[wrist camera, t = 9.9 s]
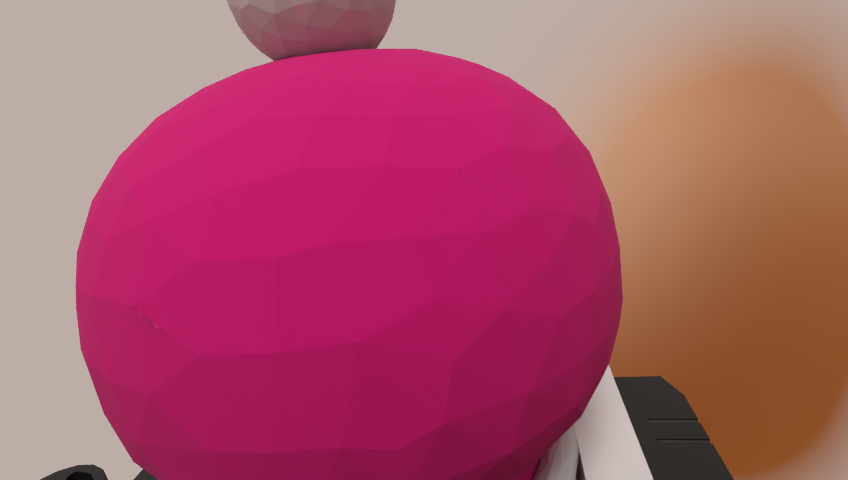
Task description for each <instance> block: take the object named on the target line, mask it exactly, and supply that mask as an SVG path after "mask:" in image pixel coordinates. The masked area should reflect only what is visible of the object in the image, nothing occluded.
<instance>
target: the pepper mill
mask: <svg viewBox="0 0 848 480" xmlns="http://www.w3.org/2000/svg"><path fill="white" fill-rule="evenodd" d="M395 1H396V0H227V2H228V5H229V7H230V9H231V11H232V13H233V15H234V17H235V19H236V21H237V23H238V26H239V27H240V28H241V30H242V31H243V33H244V34H245V35H246V37H247V38H248V39H249V41H250V42H251V43H252V44H253V45H255V46H256V47H257V48H258V49H259V50H260V51H261V52H262V53H264V54H265V55H266V56H268V57H269V58H271V59H272V60H274V61H273V62H270V63H267V64H264V65H260V66H256V67H253V68H250V69H246V70H244V71H241V72H239V73H237V74H234V75H232V76H230V77H228V78H225V79H223V80H221V81H218V82H216V83H214V84H212V85H209V86H207V87H205V88H203V89H201V90H199V91H198V92H196V93H195V94H193V95H192V96H190V97H188V98H187V99H185V100H184V101H182V102H181V103H179V104H177V105H176V106H174V107H173V108H171V109H170V110H168V111H167V112H165V113H163V114H162V115H160V116H159V117H157V118H156V119H155V120H154V121H153V122H152V123H151V124H150V125H149V126H148V127H147V128H146V129H145V130H144V131H143V132H142V133H141V134H140V135H139V136H138V137H137V139H135V140H134V142H133V143H132V144H131V145H130V146H129V147H128V148H127V149H126V150H125V151H124V152H123V153H122V154H121V155H120V156H119V157H118V159H117V160H116V162H115V164H114V165H113V167H112V169H111V170H110V172H109V174H108V175H107V177H106V179H105V180H104V182H103V184H102V185H101V187H100V189H99V190H98V192H97V194H96V195H95V197H94V199H93V200H92V203H91V206H90V210H89V213H88V217H87V221H86V223H85V227H84V230H83V234H82V237H81V241H80V244H79V248H78V251H77V270H76V310H77V319H78V327H79V336H80V345H81V350H82V353H83V356H84V359H85V362H86V365H87V367H88V370H89V373H90V376H91V378H92V381H93V384H94V387H95V390H96V392H97V395H98V398H99V400H100V404H101V406H102V409H103V412H104V414H105V416H106V417H107V419H108V421H109V422H110V424H111V426H112V427H113V429H114V431H115V432H116V434H117V435H118V437H119V439H120V440H121V442H122V444H123V445H124V447H125V448H126V450H127V452H128V453H129V455H130V457H131V458H132V460H133V462H135V463H136V464H138V465H139V466H140V467H141V468H143V469H144V470H145V471H147V472H148V473H149V474H151V475H152V476H154V477H155V478H156V479H158V480H576V470H577V463H578V456H579V449H578V443H577V438H576V429H575V425H574V423H575V422H576V421H577V420H578V419H579V418H580V417H581V416H582V414H583V412H584V410H585V409H586V407H587V405H588V403H589V401H590V399H591V398H592V396H593V394H594V392H595V390H596V388H597V387H598V385H599V383H600V381H601V379H602V377H603V375H604V373H605V371H606V369H607V367H608V364H609V362H610V358H611V354H612V351H613V347H614V343H615V339H616V335H617V331H618V328H619V322H620V314H621V307H622V301H623V296H622V280H621V264H620V247H619V242H618V237H617V232H616V228H615V222H614V217H613V212H612V207H611V203H610V200H609V198H608V195H607V193H606V190H605V188H604V186H603V183H602V181H601V179H600V176H599V174H598V171H597V169H596V166H595V164H594V161H593V159H592V157H591V154H590V152H589V151H588V149H587V148H586V147H585V146H584V144H582V142H581V141H580V139H579V138H578V137H577V136H576V135H575V133H574V132H573V131H572V129H571V128H570V127H569V126H568V124H567V123H566V122H565V121H564V119H563V118H562V117H561V116H560V114H559V113H558V112H557V111H556V109H555V108H553V107H552V106H550V105H549V104H547V103H546V102H544V101H543V100H542V99H540V98H538V97H537V96H535V95H534V94H533V93H531V92H530V91H528V90H527V89H525V88H524V87H522V86H521V85H519V84H518V83H516V82H515V81H513V80H512V79H511V78H509V77H507V76H505V75H503V74H500V73H498V72H496V71H493V70H491V69H489V68H486V67H484V66H481V65H479V64H475V63H473V62H470V61H467V60H463V59H460V58H456V57H452V56H446V55H442V54H437V53H432V52H428V51H423V50H418V49H376V48H377V47H378V45H379V43H380V42H381V41H382V39H383V38H384V36H385V34H386V32H387V29H388V28H389V25H390V23H391V21H392V17H393V13H394V8H395Z"/></svg>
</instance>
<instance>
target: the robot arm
mask: <svg viewBox="0 0 848 480" xmlns="http://www.w3.org/2000/svg"><path fill="white" fill-rule="evenodd" d="M574 425H575V429H576V438H577V443H578V449H579V456H578V463H577V470H576V480H734V479H733V478H732V476H731V474H730V473H729V471H728V469H727V468H726V466H725V464H724V462H723V461H722V459H721V457H720V456H719V454H718V452H717V451H716V449H715V447H714V445H713V444H711V443H710V441H709V437H708V435H707V434H706V432H705V430H704V429H703V427H702V425H701V423H698V418H697V417H696V415H695V413H694V412H693V410H692V408H691V406H690V405H689V403H688V401H687V400H686V398H685V396H684V395H683V394H682V393H680V392H679V391H678V390H677V389H675V388H674V387H673V386H672V385H670V384H669V383H668V382H667V381H665V380H664V379H663V378H662V377H660V376H656V377H655V376H652V377H613V375H612V373H611V370H610V367H609V365H608V367H607V369H606V371H605V373H604V375H603V377H602V379H601V381H600V383H599V385H598V387H597V388H596V390H595V392H594V394H593V396H592V398H591V399H590V401H589V403H588V405H587V407H586V409H585V410H584V412H583V414H582V416H581V417H580V418H579V419H578V420H577V421H576V422H575V423H574ZM41 480H108V479H107V477H106V475H105V473H104V470H103V469H101V468H99V467H97V466H95V465H77V466H74V467H70V468H67V469H64V470H60V471H57V472H55V473H53V474H51V475H49V476H47V477H45V478H43V479H41ZM134 480H158V479H156V478H155V477H154V476H152V475H151V474H149V473H148V472H147V471H145V470H144V469H143V470H142V471H141V472H140V473H139V474H138V475H137V477H136V478H135V479H134Z"/></svg>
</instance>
